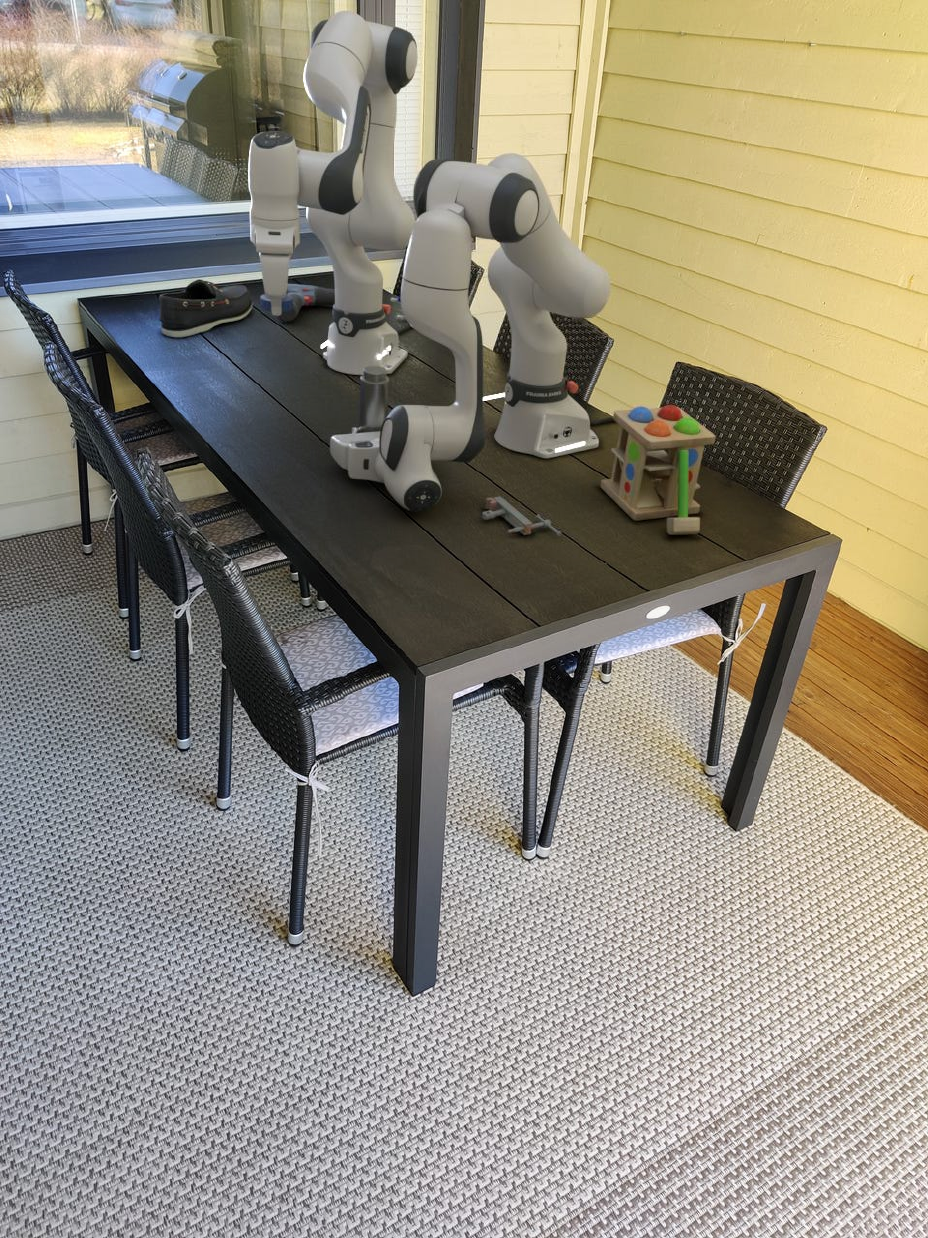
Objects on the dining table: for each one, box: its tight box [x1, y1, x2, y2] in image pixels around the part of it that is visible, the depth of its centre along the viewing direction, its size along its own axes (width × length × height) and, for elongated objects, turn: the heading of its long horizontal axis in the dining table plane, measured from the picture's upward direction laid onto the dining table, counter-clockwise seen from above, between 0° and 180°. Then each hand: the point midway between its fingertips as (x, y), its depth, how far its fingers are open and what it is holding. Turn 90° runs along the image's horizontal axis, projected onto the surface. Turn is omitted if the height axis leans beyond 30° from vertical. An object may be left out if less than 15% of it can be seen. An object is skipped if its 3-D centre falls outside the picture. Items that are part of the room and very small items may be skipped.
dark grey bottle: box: [358, 366, 390, 433], centre depth 192 cm, size 5×5×18 cm
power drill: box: [278, 283, 335, 322], centre depth 265 cm, size 5×19×20 cm
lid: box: [259, 293, 293, 313], centre depth 185 cm, size 6×6×2 cm
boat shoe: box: [158, 278, 254, 338], centre depth 253 cm, size 13×33×10 cm, turn 147°
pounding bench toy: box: [599, 404, 716, 536], centre depth 182 cm, size 23×14×18 cm, turn 20°
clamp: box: [481, 496, 563, 537], centre depth 177 cm, size 15×2×10 cm
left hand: (276, 308), depth 185 cm, fingers closed on lid, 6 cm apart
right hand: (371, 429), depth 195 cm, fingers closed on dark grey bottle, 5 cm apart
